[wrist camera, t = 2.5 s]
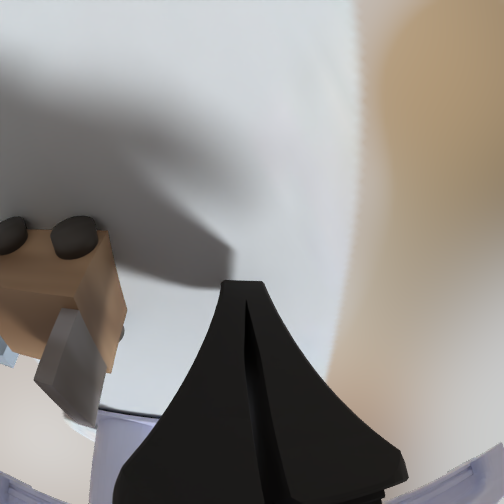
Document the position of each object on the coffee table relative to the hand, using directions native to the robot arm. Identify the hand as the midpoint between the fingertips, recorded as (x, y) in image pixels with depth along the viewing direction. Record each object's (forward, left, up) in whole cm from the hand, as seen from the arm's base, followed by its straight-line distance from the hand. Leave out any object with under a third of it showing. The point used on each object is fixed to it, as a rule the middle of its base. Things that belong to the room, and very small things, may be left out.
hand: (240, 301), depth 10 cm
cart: (0, +7, -1) cm, 7 cm away
